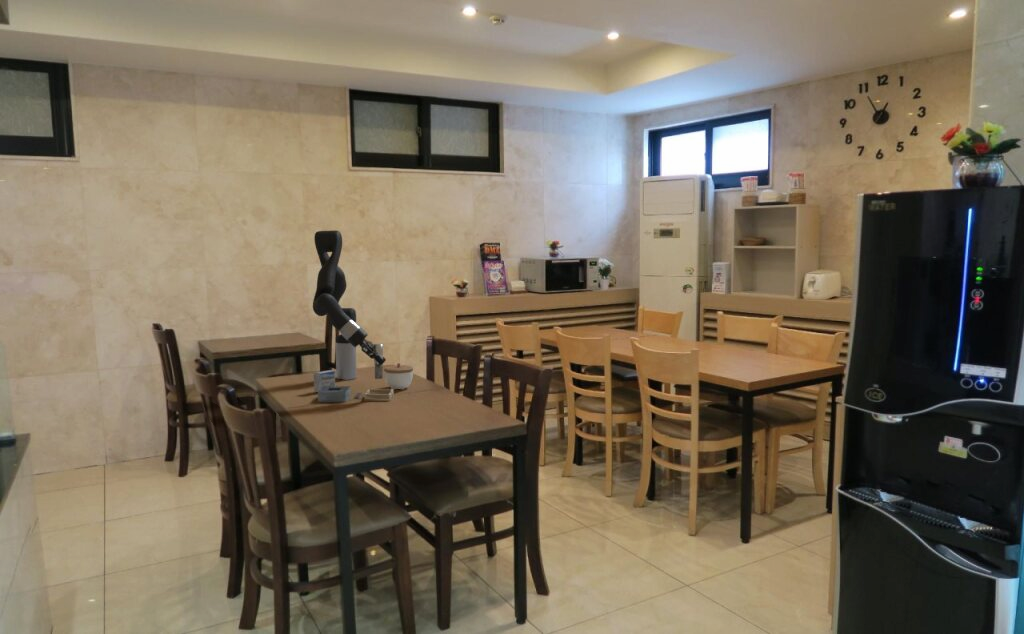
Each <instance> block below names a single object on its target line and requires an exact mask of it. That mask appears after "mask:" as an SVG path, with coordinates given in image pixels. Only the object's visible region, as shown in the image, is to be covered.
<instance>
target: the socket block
mask: <svg viewBox="0 0 1024 634" xmlns="http://www.w3.org/2000/svg"><path fill="white" fill-rule="evenodd" d="M351 396H352V395H351V385H350V386H349V385H347V386H345V385H344V386H343V385H341V386H340V385H338V386H337V385H335V386H324V387H323V388H322V389H321V390H320V391H319V392H318V393H317V403H345V402H347V401H348V400H349V398H350V397H351Z"/></svg>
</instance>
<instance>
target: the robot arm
mask: <svg viewBox="0 0 1024 634" xmlns="http://www.w3.org/2000/svg"><path fill="white" fill-rule="evenodd" d="M313 241H314V245H315V249H316V252H317V256H318V259H319V261H320V262H319V263H320V265H321V267H320V269H319V271H318V273H317V280H316V290H315V293H314V297H313V301H312V310H313V312H314V314H316V315H317V316H318V317H324V316H326V315H329V317H330V319H329V321H330V324H331V325H332V327H334V328H335V329H336V330H337V331H338V332H339V333H340V334H338V335H336V337H335V362H336V364H335V379H336V380H339V379H343V380H342V381H345V380H346V381H349V379H350V380H355V379H357V378H356V377H357V346H360V349H361V352H363V353H364V354H366V355H367V356H368V357H369V358H370V359H373V360H374V359H375V360H376V361H377V362H378V363H379V364H380V365H382V364H383V365H384V363H385V362H386V360H387V359H386V358H385V357H384V356H383V359H382V358H381V357H380V356H379V355H378V354H377V353H376V352H375V349H374V344H375V343H373V342H372V341H370V340H367V339H366V338H367V337H368V333H367V332H366V331H365V330H364V329H363V328H362V327H361V326H360V325H359V324H358V323H357V312H356V309H355V308H353V307H342V306H341V305H340V304H339V303H340V300H341V299H342V297H343V296H344V293H346V291H347V290H346V289H347V285H348V284H347V282H346V281H347V280H346V279H347V278H346V274H345V273H344V270H343V269H342V268H341V267H340V266H339V261H340V258H341V253H342V250H343V236H342V233H341V231H339V230H335V229H334V230H333V229H332V230H319V231H316V232H315V233H314V240H313ZM329 253H331V254H330V255H329Z"/></svg>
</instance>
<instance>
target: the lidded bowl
mask: <svg viewBox="0 0 1024 634" xmlns="http://www.w3.org/2000/svg"><path fill="white" fill-rule="evenodd" d="M383 372H384V379H385V382H386V384H387V386H388V387H390V389H394V390H395V389H401V390H406V389H408V387H409V386H410V385H411V384H412V381H413V378H414V366H412V365H407V364H406V365H405V364H402V365H401V363H400V362H398V363H397V364H395V365H388V366H386V367H384V369H383ZM405 388H406V389H405Z"/></svg>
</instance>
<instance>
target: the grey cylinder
mask: <svg viewBox="0 0 1024 634" xmlns="http://www.w3.org/2000/svg"><path fill="white" fill-rule="evenodd" d="M373 344H374V349H375V352H376V353H377V354H378V355H379V356H380V357H381V358H382V359H383V357H384V344H383V343H373ZM373 365H374V379H376V380H380V379H383V378H384V377H383V375H384V373H383V372H384V369H383V366H384V363H383V364H382V365H380V364H379V363H378V362H377V361H376V360H375V359H373Z"/></svg>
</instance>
